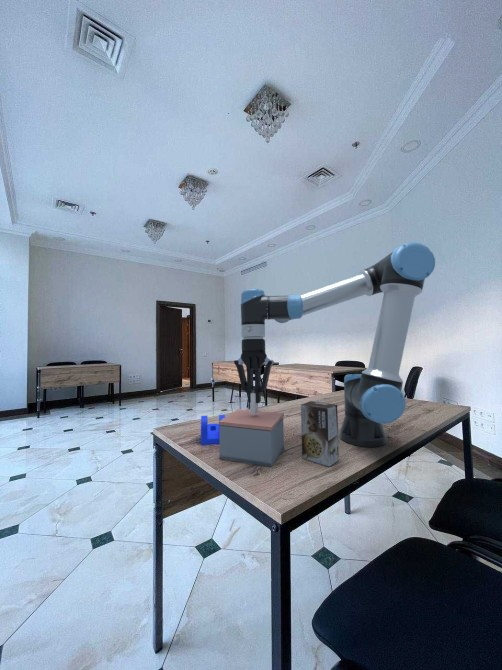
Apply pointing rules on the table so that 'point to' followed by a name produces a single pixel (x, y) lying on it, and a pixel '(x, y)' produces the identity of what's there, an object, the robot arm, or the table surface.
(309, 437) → the coffee box
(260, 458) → the box
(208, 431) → the bracket
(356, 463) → the table surface
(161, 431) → the table surface
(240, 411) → the lid
